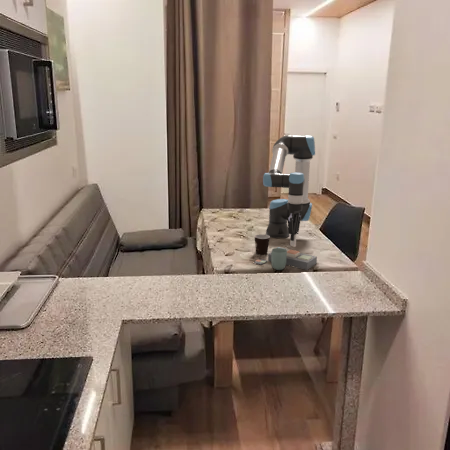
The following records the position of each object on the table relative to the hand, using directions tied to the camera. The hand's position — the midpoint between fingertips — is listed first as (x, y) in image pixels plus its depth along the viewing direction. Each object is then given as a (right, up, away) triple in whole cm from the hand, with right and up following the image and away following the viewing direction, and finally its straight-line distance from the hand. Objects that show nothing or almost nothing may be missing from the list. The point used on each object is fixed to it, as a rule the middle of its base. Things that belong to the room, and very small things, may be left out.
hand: (292, 245), depth 240 cm
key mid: (0, -7, +2) cm, 7 cm away
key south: (-6, -6, +6) cm, 11 cm away
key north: (+6, -10, -2) cm, 12 cm away
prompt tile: (-17, -9, +2) cm, 19 cm away
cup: (-9, -12, -7) cm, 16 cm away
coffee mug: (-15, -5, +18) cm, 24 cm away
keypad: (0, -9, +3) cm, 9 cm away
